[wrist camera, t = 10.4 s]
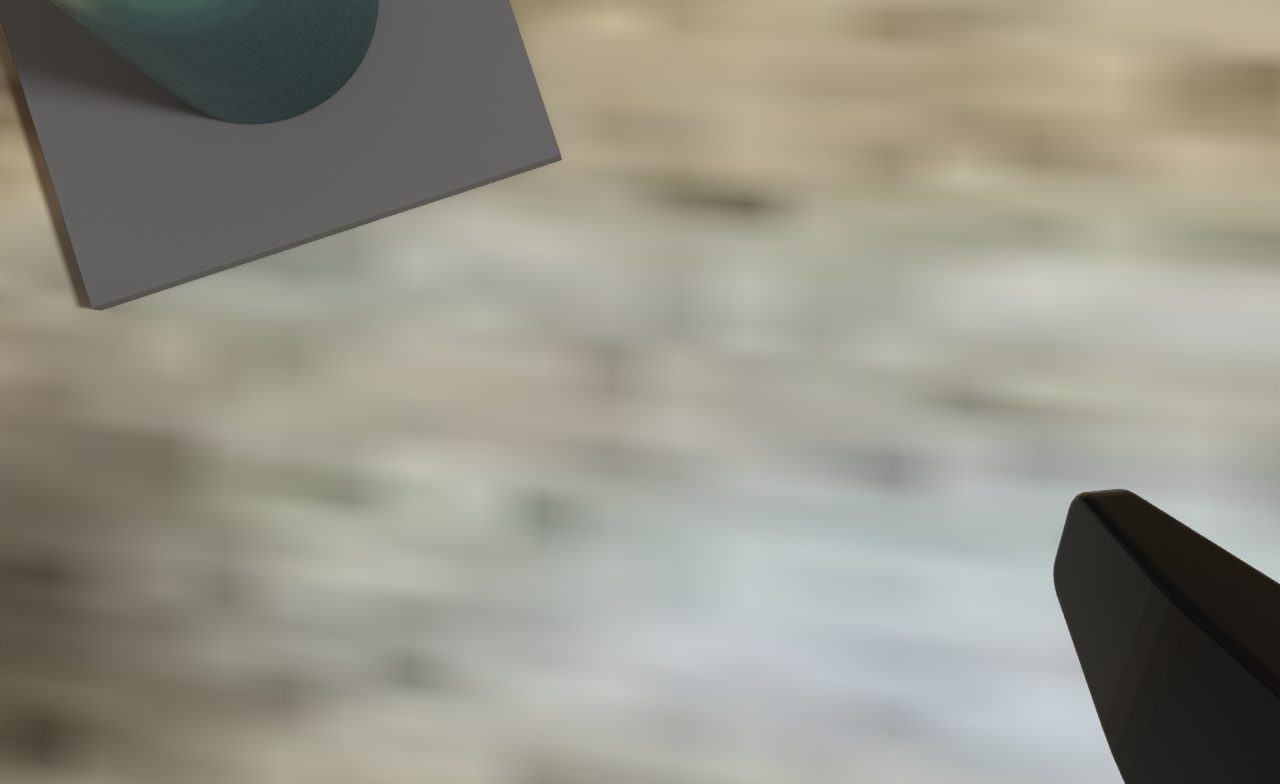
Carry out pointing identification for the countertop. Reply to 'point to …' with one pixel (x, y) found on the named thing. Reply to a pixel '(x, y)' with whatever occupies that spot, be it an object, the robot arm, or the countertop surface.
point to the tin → (237, 50)
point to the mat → (271, 143)
